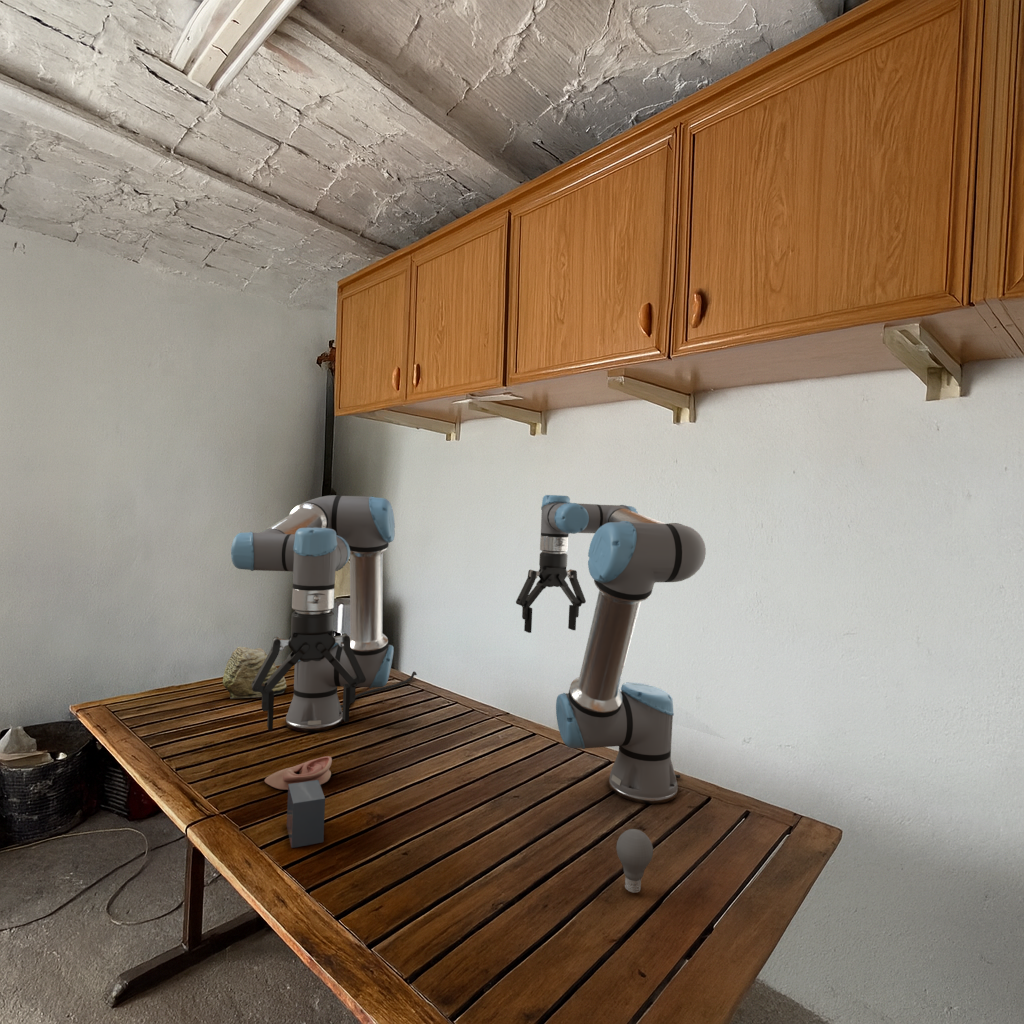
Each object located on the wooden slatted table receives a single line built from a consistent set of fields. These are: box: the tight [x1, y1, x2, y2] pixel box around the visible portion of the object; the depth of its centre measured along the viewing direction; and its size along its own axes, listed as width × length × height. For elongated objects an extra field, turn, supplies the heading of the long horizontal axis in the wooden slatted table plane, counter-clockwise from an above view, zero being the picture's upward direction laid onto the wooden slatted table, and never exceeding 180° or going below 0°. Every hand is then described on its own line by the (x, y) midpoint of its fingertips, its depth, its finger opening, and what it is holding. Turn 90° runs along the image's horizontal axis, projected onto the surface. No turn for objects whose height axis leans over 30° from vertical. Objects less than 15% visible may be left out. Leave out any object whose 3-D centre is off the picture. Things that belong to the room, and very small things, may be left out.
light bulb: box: [615, 828, 654, 894], centre depth 106 cm, size 6×6×10 cm
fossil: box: [222, 646, 288, 699], centre depth 198 cm, size 9×18×15 cm, turn 132°
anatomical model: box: [264, 755, 333, 791], centre depth 141 cm, size 13×4×12 cm
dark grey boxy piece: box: [286, 780, 326, 849], centre depth 119 cm, size 8×6×8 cm
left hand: (308, 723), depth 119 cm, fingers open, 13 cm apart
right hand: (550, 630), depth 171 cm, fingers open, 13 cm apart
